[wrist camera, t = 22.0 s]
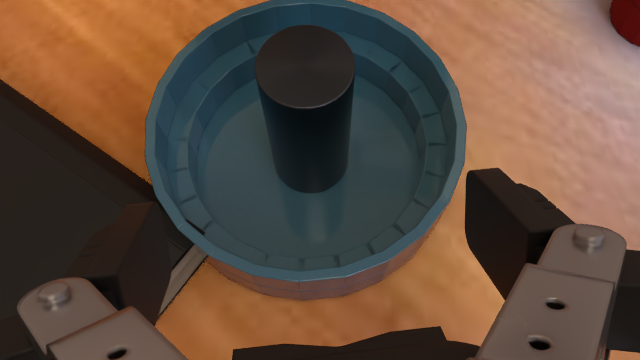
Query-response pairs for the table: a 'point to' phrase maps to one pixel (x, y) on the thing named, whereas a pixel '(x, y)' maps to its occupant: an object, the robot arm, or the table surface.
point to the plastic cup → (627, 19)
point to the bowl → (258, 164)
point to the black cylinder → (307, 104)
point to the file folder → (63, 202)
